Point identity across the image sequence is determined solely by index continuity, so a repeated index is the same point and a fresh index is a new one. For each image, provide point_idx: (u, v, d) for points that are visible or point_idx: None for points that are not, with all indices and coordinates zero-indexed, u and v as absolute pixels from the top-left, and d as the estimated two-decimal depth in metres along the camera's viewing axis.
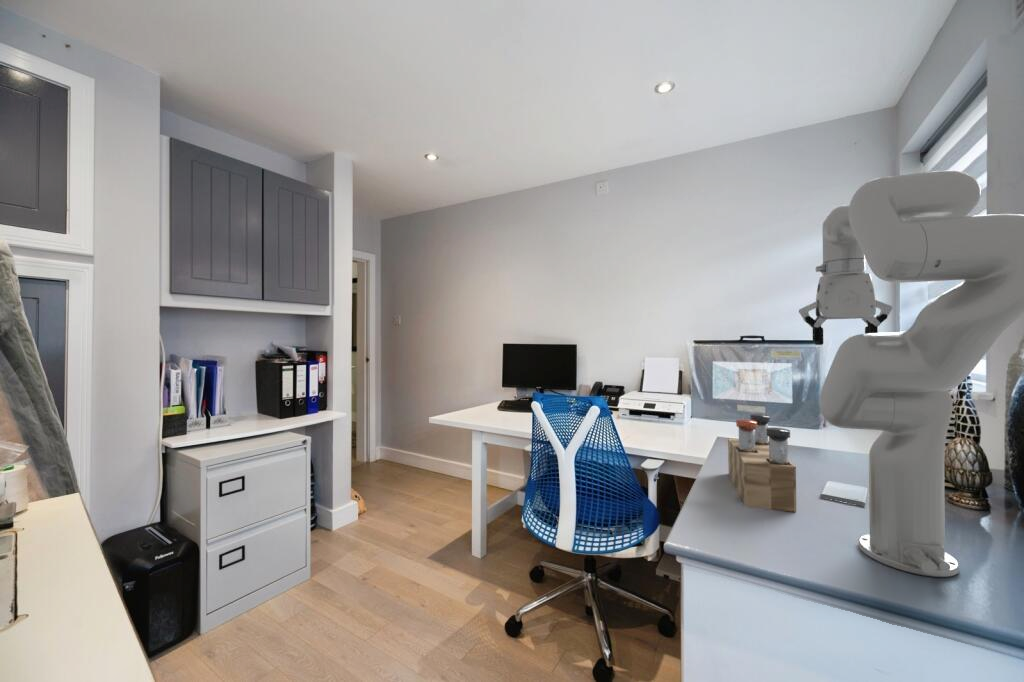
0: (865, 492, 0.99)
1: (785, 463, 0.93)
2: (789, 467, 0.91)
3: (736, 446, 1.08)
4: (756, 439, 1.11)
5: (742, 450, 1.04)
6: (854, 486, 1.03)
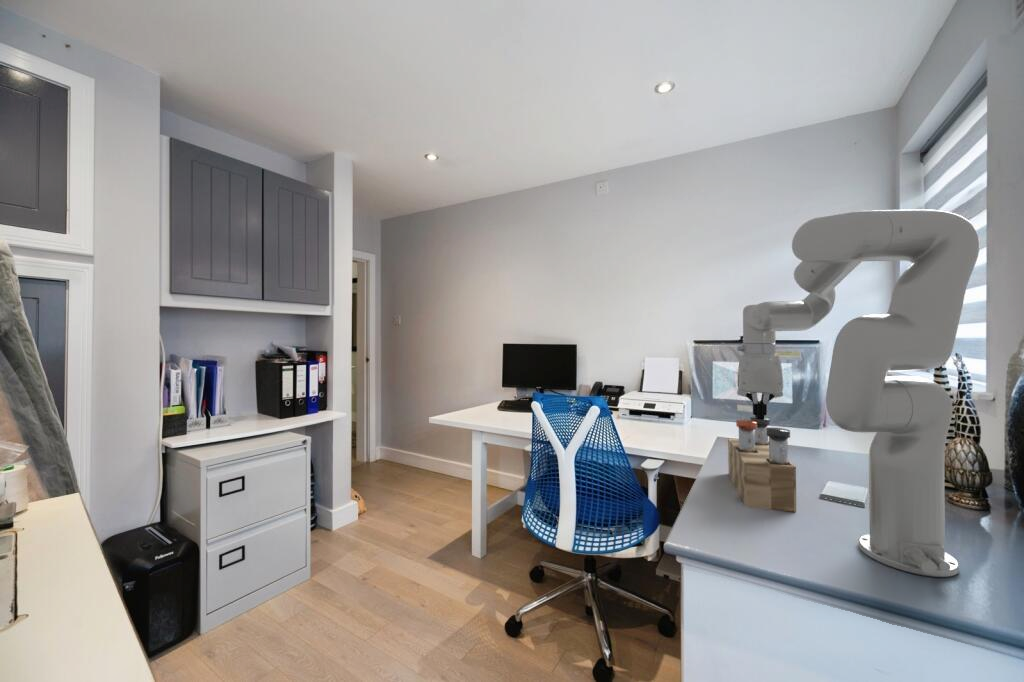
0: (865, 492, 0.99)
1: (785, 463, 0.93)
2: (789, 467, 0.91)
3: (736, 446, 1.08)
4: (756, 442, 1.11)
5: (742, 450, 1.04)
6: (854, 486, 1.03)
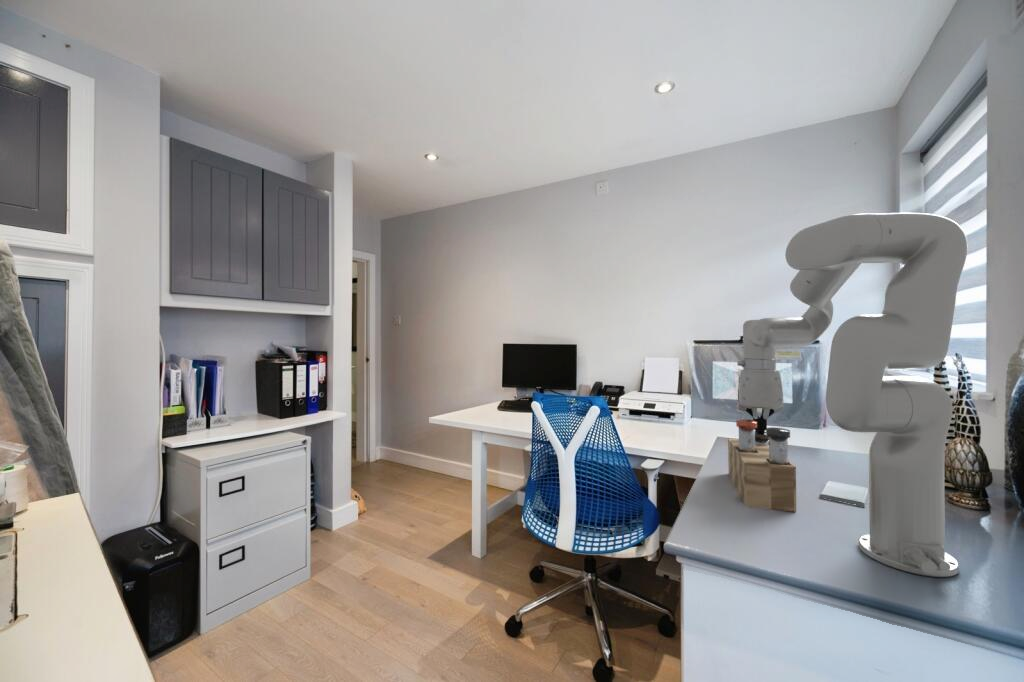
0: (865, 492, 0.99)
1: (785, 463, 0.93)
2: (789, 467, 0.91)
3: (736, 446, 1.08)
4: None
5: (742, 450, 1.04)
6: (854, 486, 1.03)
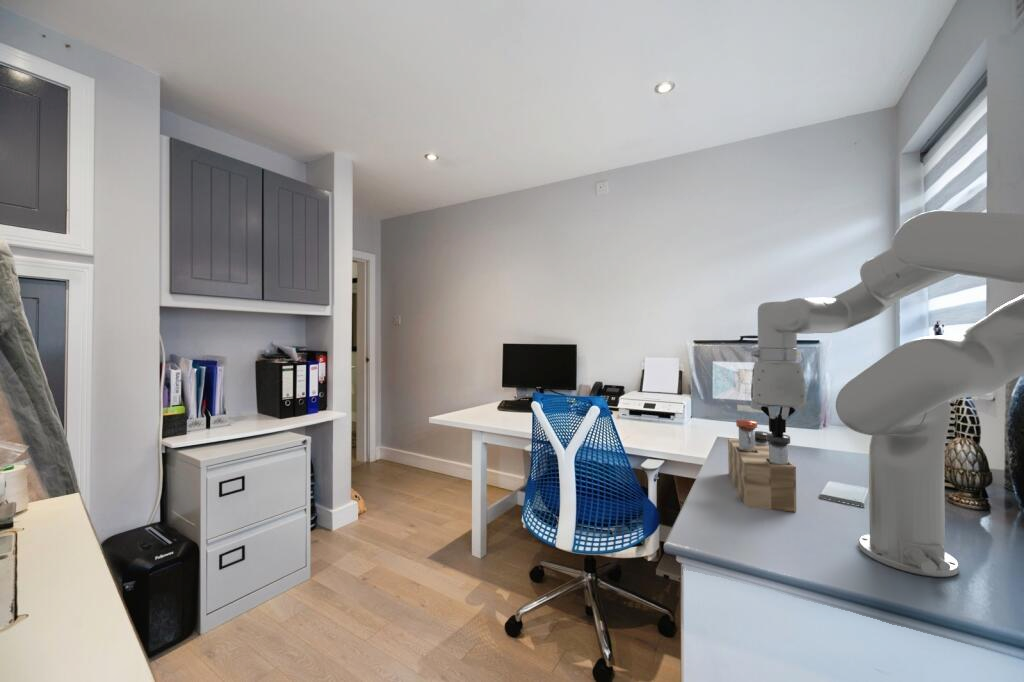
0: (865, 493, 0.99)
1: None
2: (789, 467, 0.91)
3: (736, 446, 1.08)
4: None
5: (742, 450, 1.04)
6: (855, 486, 1.03)
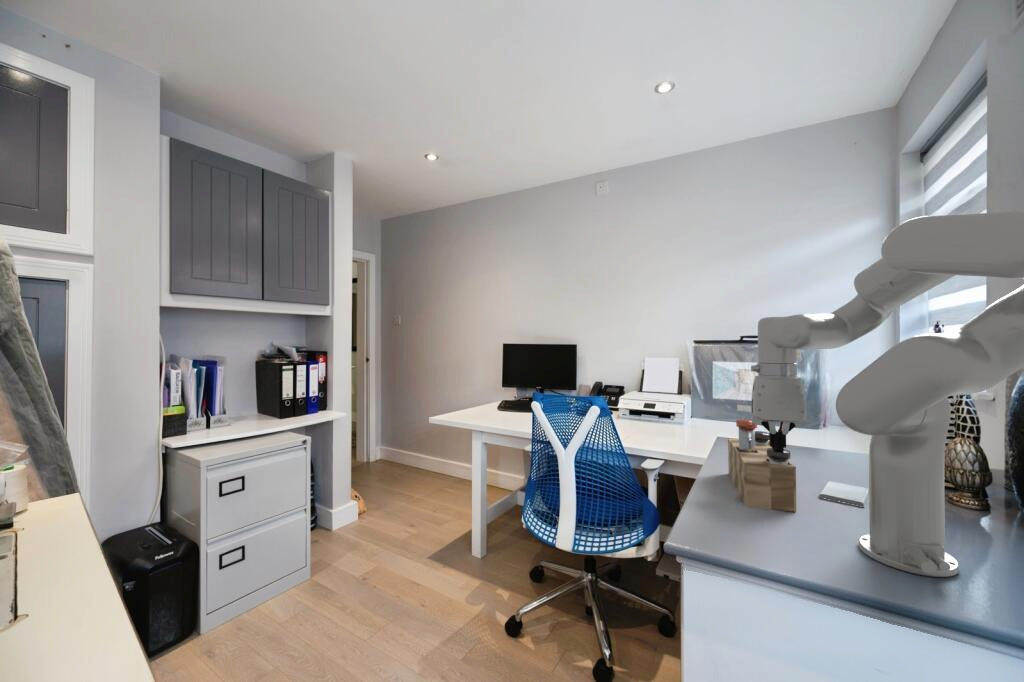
0: (865, 493, 0.99)
1: None
2: (789, 467, 0.91)
3: (736, 446, 1.08)
4: None
5: (742, 450, 1.04)
6: (855, 487, 1.03)
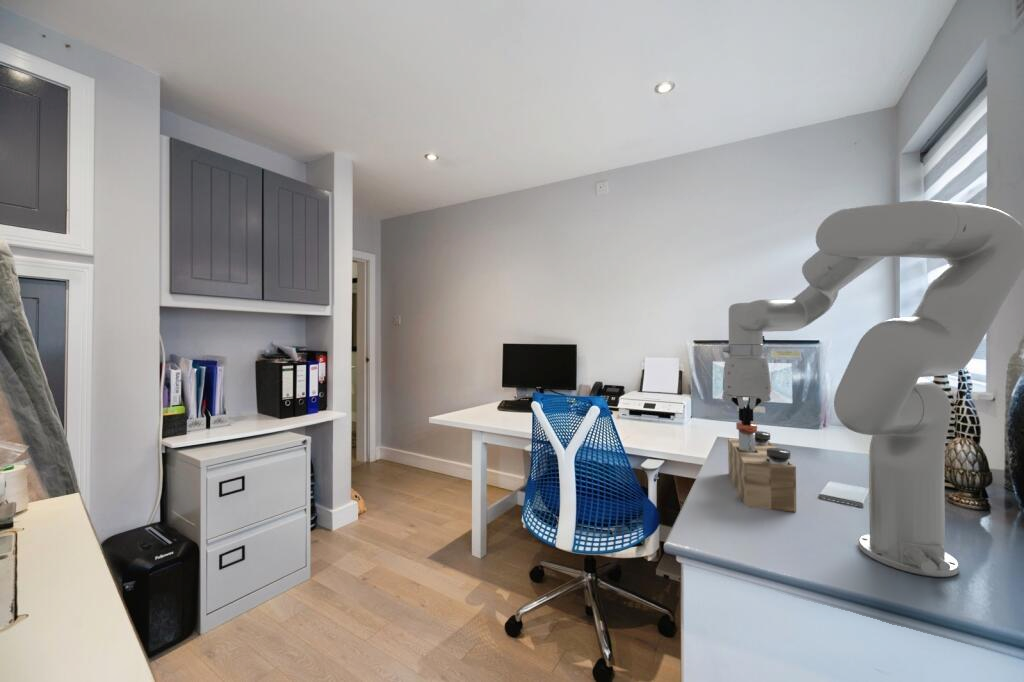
0: (865, 493, 0.99)
1: None
2: (789, 467, 0.91)
3: (736, 446, 1.08)
4: None
5: None
6: (855, 487, 1.02)
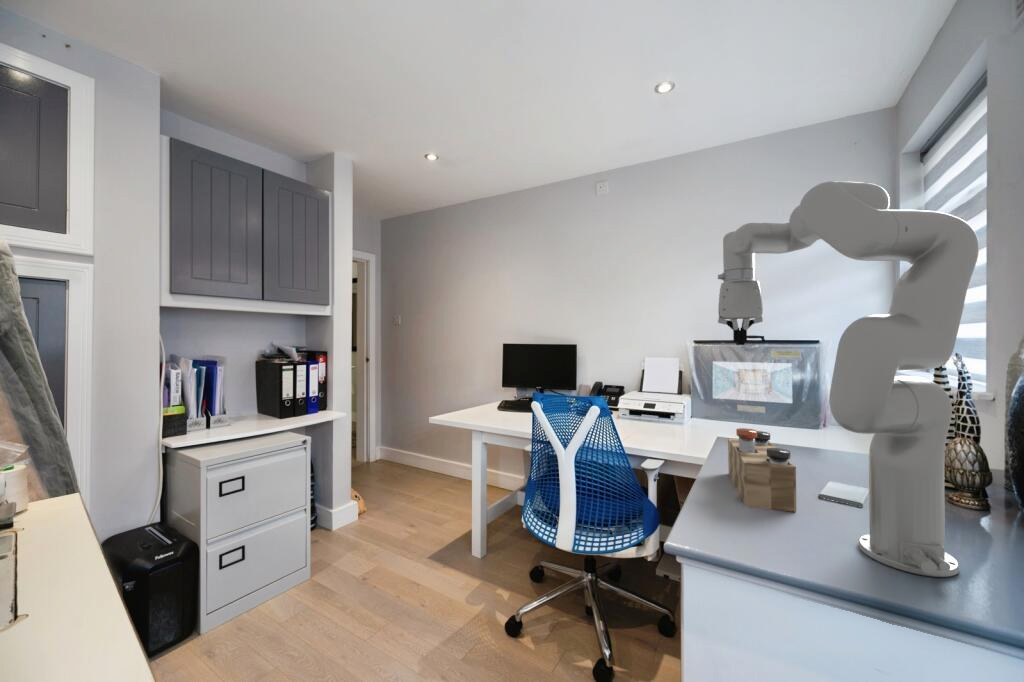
0: (865, 493, 0.99)
1: None
2: (789, 467, 0.91)
3: (736, 446, 1.08)
4: None
5: None
6: (855, 487, 1.02)
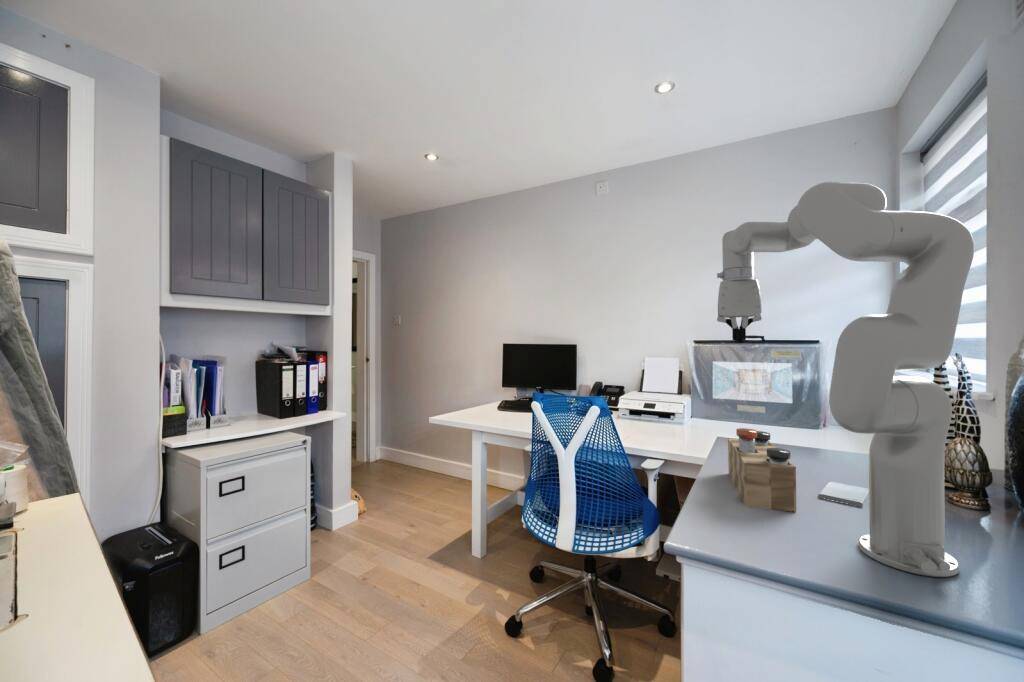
0: (865, 493, 0.99)
1: None
2: (789, 467, 0.91)
3: (736, 446, 1.08)
4: None
5: None
6: (855, 487, 1.02)
